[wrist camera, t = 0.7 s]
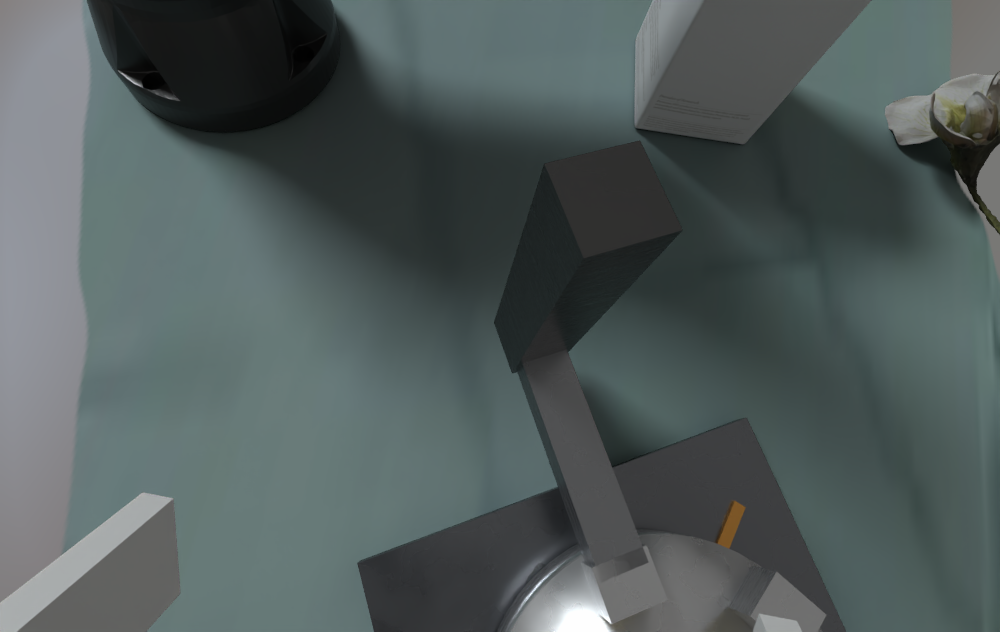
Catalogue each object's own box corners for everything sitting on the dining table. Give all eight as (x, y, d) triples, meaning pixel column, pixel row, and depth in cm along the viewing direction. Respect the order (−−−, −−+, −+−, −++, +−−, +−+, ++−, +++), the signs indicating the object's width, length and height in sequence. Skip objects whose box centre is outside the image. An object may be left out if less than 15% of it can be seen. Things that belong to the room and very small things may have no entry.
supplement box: (747, 148, 40) (916, -39, 26) (631, 131, 39) (739, -71, 25) (741, 54, 43) (890, -161, 28) (634, 36, 42) (731, -192, 28)
